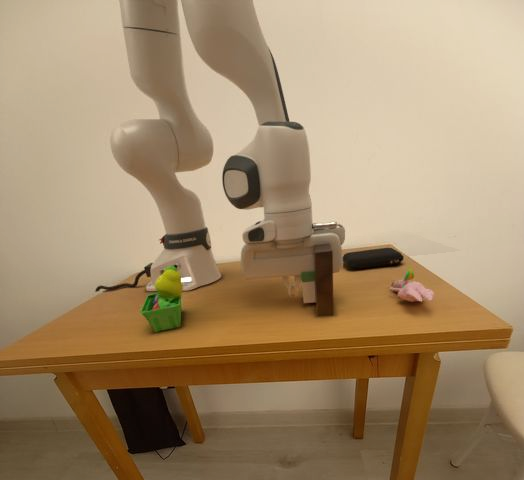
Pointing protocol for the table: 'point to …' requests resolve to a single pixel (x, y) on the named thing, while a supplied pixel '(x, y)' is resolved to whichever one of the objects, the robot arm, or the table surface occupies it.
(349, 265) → the carrying case
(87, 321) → the table surface
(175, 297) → the fruit basket
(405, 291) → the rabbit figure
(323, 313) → the walnut board
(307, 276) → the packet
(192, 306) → the table surface
